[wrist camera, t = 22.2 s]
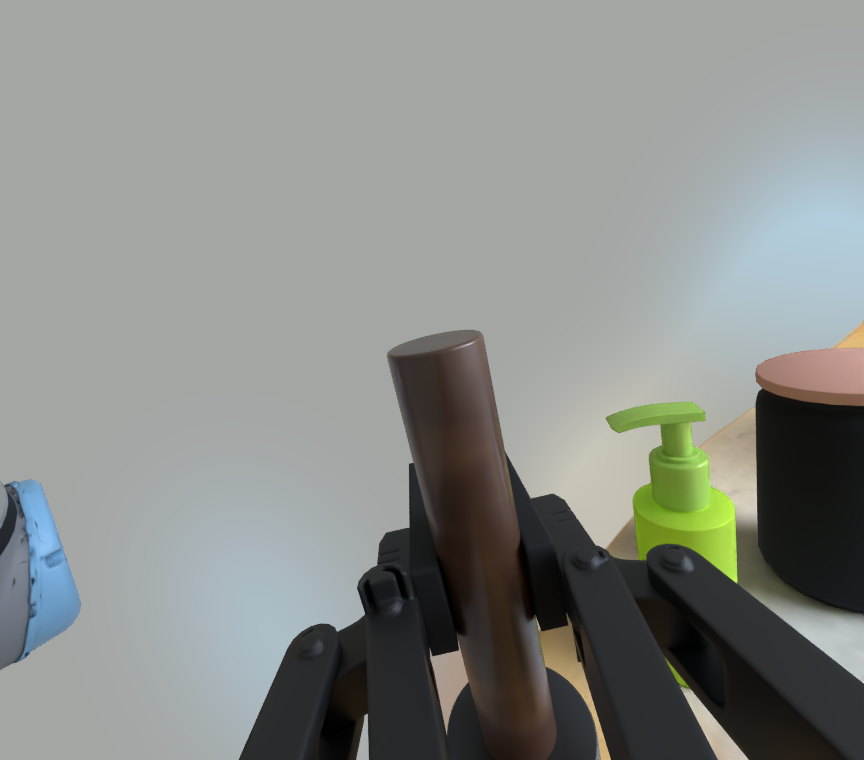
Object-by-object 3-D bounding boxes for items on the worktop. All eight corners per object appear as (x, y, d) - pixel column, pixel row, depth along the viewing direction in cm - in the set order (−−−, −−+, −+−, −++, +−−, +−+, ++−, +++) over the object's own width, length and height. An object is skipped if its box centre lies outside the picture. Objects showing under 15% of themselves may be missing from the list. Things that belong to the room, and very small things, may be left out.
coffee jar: (891, 647, 29) (912, 406, 24) (730, 561, 38) (723, 377, 34) (965, 578, 32) (996, 355, 28) (800, 515, 42) (803, 342, 37)
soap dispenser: (624, 621, 35) (598, 400, 30) (716, 619, 33) (705, 385, 28) (646, 691, 29) (618, 434, 24) (757, 692, 28) (753, 418, 23)
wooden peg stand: (488, 952, 12) (318, 390, 8) (466, 768, 17) (351, 346, 12) (644, 916, 12) (565, 334, 8) (580, 742, 17) (506, 311, 12)
